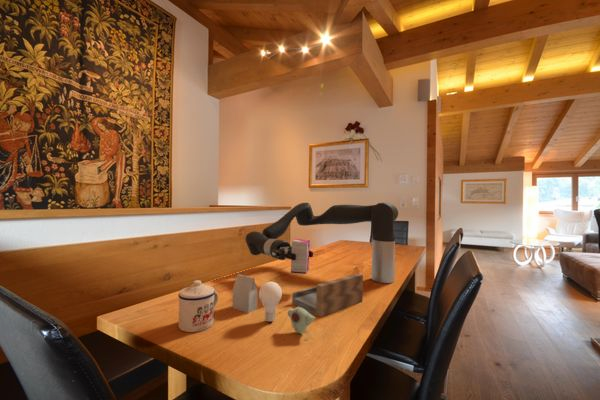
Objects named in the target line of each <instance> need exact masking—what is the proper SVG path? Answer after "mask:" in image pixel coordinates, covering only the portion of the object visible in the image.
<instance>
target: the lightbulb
mask: <svg viewBox="0 0 600 400" xmlns="http://www.w3.org/2000/svg"><path fill="white" fill-rule="evenodd" d="M282 296H283V291H282V288H281V286H280V284H278V282H275V281H266V282H264V283H263V284H262V285H261V287H260V289H259V291H258V297H259V300H260V302H261V303H262V305H263V309H264V314H265V315H264V321H265V322H267V323H272V322H274V321H275V318H276V317H275V316H276V315H275V314H276V309H277V306H278V304H279V303H280V301H281V299H282Z"/></svg>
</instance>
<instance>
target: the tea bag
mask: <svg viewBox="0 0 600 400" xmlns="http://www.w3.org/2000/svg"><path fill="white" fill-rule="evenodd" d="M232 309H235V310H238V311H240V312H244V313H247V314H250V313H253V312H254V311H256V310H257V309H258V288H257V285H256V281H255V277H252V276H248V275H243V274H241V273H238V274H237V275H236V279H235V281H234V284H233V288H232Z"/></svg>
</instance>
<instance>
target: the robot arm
mask: <svg viewBox="0 0 600 400" xmlns="http://www.w3.org/2000/svg"><path fill="white" fill-rule="evenodd" d="M398 216H399V210H398V208H397V207H396V206H395V205H394V204H393V203H391V202H378V203H376V204H371V205H359V204H336V205H332V206H330V207H329V208H328V209H327V210H325V211H324V212H323V213H322V214H320V215H315V214H314V212H313V209H312V205H311V204H310V203H309V202H302V203H299V204H297V205H295V206H294V207H292V208H291V209H290V210H288V212H287V213H285V214H284V215H283V216H282V217H281V218H278V220H277V221H275V222H273V223H271V224H270V225H268V226H266V227H265V228H264V229H263V230H262V233H261V232H259V231H256V230H255V231H249V232H248V233H247V234H246V235H245V242H246V243H245V244H246V245H247V247H248V250H249V253H250V254H251V255H252V256H258V255H259V256H260V255H261V254H262V255H266V256H268V257H271V258H274V259H277V260H280V261H285V260H290V261H291V260H296V254H294V253H292V245H291V244H290V243H289V242H288V241H287V240H282V239H278V238H280V237H281V236H283V235H284V234H285V233H286V232H287V230H288V228H289V226H290V224H291V223H292V221H293V220H294V218H295V220H296V222H297V224H298V226H304V227H306V226H317V225H352V224H353V225H354V224H359V223H367V222H369V223H370V230H371V235H372V247H371V249H372V251H371V253H372V254H371V280H372V281H373V282H375V283H376V282H377V283H380V284H391V283H394V281H395V273H396V272H395V271H396V258H395V257H396V254H395V252H396V251H395V250H396V234H395V231H394V222H395V221H396V220H397V219H398ZM313 257H314V250H310V249H309V258H313Z"/></svg>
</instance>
